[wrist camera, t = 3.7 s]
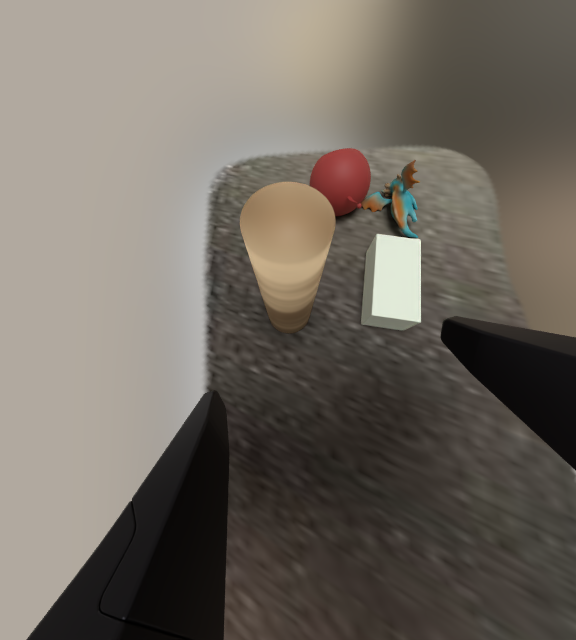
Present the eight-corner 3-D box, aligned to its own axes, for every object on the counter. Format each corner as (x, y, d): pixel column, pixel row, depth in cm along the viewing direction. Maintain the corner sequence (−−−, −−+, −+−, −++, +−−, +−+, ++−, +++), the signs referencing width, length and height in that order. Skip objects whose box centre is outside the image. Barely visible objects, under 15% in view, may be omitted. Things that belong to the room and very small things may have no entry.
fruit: (309, 227, 27) (324, 212, 19) (304, 175, 26) (317, 135, 18) (359, 221, 27) (393, 203, 19) (356, 168, 26) (392, 126, 18)
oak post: (306, 336, 21) (330, 268, 9) (265, 329, 21) (230, 254, 9) (312, 297, 22) (339, 187, 10) (272, 291, 22) (250, 176, 10)
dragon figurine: (464, 219, 24) (428, 150, 22) (448, 246, 20) (404, 163, 18) (405, 248, 29) (373, 194, 28) (383, 274, 25) (345, 212, 24)
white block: (402, 330, 21) (420, 322, 18) (360, 324, 21) (371, 314, 19) (404, 257, 23) (420, 239, 20) (366, 252, 24) (376, 233, 21)
